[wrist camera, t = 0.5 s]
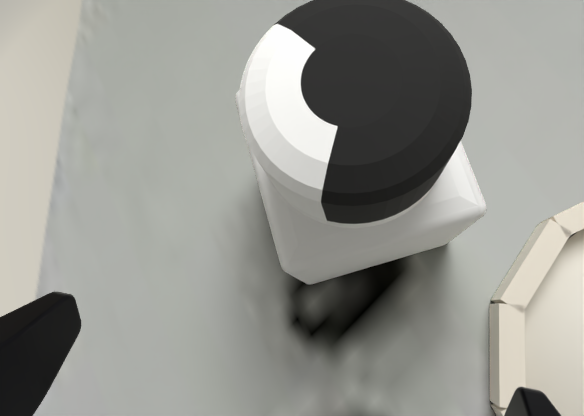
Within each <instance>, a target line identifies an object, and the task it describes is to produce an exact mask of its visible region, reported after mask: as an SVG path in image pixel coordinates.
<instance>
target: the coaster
mask: <svg viewBox="0 0 584 416" xmlns="http://www.w3.org/2000/svg"><path fill="white" fill-rule="evenodd" d="M572 234H573V235H572ZM570 235H572V236H570ZM569 236H570V237H569ZM491 301H493V302H494V303H496V304H489V327H490V401H491V402H493V404H491V406H492V408H493V410H494V412H495V414H496V415H497V416H504V415H505V412H506V410H507V407H508V405H509V403H510V401H511V399H512V396H513V394H514V392H515V390H516V389H517V388H518V387H526V388H531V389H536V390H540V391H542V392H543V393H544V394H545V395H546V396H547V397H548V399H549V400H550V401H551V403H552V404H553V405H554V406H555V408H556V409H557V410H558V412H559V413H560V414H561V416H584V202H582V203H580V204H578V205H575V206H573V207H571V208H569V209H567V210H565V211H563V212H561V213H559V214H557V215H555V216H553V217H551V218H549V219H547V220H545V221H543V222H541V224H539V225H537V226H536V228H535V230H534V231H533V233H532V235H531V236H530V238H529V239H528V241H527V243H526V244H525V246H524V247H523V249H522V251H521V252H520V254H519V255H518V257H517V259H516V260H515V262H514V263H513V265H512V267H511V268H510V270H509V271H508V273H507V275H506V276H505V278H504V279H503V281H502V283H501V284H500V286H499V287H498V289H497V291H496V292H495V294H494V295H493V297H492V299H491Z"/></svg>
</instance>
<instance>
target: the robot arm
mask: <svg viewBox="0 0 584 416" xmlns="http://www.w3.org/2000/svg"><path fill="white" fill-rule="evenodd" d="M80 329H81V319H80V315H79V311H78V308H77V304H76V300H75V298H74V297H73V296H72V295H71V294H67V293H62V292H52V293H49V294H47V295H45V296H43V297H41V298H39V299H37V300H35V301H33V302H31V303H29V304H27V305H24V306H22V307H20V308H18V309H16V310H14V311H12V312H10V313H8V314H6V315H4V316H2V317H0V416H33V414H34V413H35V411H36V410H37V408H38V407H39V405H40V404H41V402H42V400H43V399H44V397H45V395H46V394H47V392H48V390H49V389H50V387H51V385H52V383H53V381H54V379H55V377H56V376H57V374H58V372H59V370H60V368H61V366H62V364H63V362H64V361H65V359H66V357H67V355H68V353H69V351H70V349H71V347H72V346H73V344H74V342H75V340H76V338H77V336H78V334H79V332H80ZM504 416H561V414H560V413H559V412H558V410H557V409H556V408H555V406H554V405H553V404H552V403H551V401H550V400H549V399H548V397H547V396H546V395H545V394H544V393H543V392H542V391H540V390H536V389H531V388H526V387H518V388H517V389H516V390H515V392H514V394H513V396H512V399H511V401H510V403H509V405H508V407H507V410H506V412H505V415H504Z"/></svg>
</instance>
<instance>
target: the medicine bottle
mask: <svg viewBox="0 0 584 416" xmlns="http://www.w3.org/2000/svg"><path fill="white" fill-rule="evenodd" d="M471 97H472V89H471V80H470V74H469V70H468V67H467V64H466V60H465V58H464V56H463V54H462V52H461V49H460V47H459V46H458V44H457V43H456V41H455V40H454V38H453V37H452V35H451V34H450V33H449V32H448V30H447V29H446V28H445V27H444V26H443V25H442V24H441V23H440V22H439V21H438V20H437V19H435V18H434V17H433V16H432V15H431V14H429V13H428V12H426V11H425V10H423V9H421V8H420V7H418V6H417V5H414V4H412V3H410V2H408V1H405V0H313V1H310V2H308V3H306V4H304V5H302V6H300V7H298V8H296V9H295V10H293V11H291V12H290V13H288V14H287V15H285V16H284V17H283V18H282V19H280V20H279V21H278V22H277V23H276V24H274V25H273V26H272V27H271V28H270V29H269V30H268V32H267V33H266V34H265V35H264V36H263V37H262V39H261V40H260V41H259V43H258V44H257V46H256V47H255V48H254V50H253V52H252V54H251V56H250V58H249V60H248V62H247V64H246V67H245V70H244V73H243V76H242V81H241V85H240V90H239V91H238V92H237V94H236V105H237V109H238V113H239V116H240V120H241V125H242V129H243V133H244V135H245V138H246V142H247V145H248V149H249V153H250V156H251V160H252V164H253V167H254V171H255V174H256V178H257V182H258V185H259V189H260V193H261V196H262V200H263V203H264V207H265V211H266V214H267V218H268V222H269V225H270V229H271V233H272V236H273V240H274V243H275V247H276V251H277V254H278V258H279V262H280V265H281V267H282V269H283V271H284V272H286V273H288V274H290V275H292V276H293V277H295V278H297V279H299V280H301V281H302V282H304V283H306V284H315V283H318V282H322V281H325V280H328V279H332V278H335V277H339V276H342V275H345V274H349V273H352V272H355V271H359V270H362V269H366V268H369V267H372V266H376V265H379V264H382V263H386V262H389V261H393V260H396V259H399V258H403V257H406V256H409V255H413V254H416V253H420V252H423V251H426V250H430V249H433V248H436V247H440V246H443V245H446V244H447V243H449V242H450V241H451V240H453V239H454V238H455V237H457V236H458V235H459V234H460V233H462V232H463V231H464V230H466V229H467V228H468V227H470V226H471V225H472V224H473V223H475V222H476V221H477V220H479V219H480V218H481V217H483V216H484V214H485V212H486V203H485V200H484V198H483V195H482V193H481V190H480V188H479V185H478V183H477V180H476V178H475V175H474V173H473V170H472V168H471V165H470V163H469V160H468V158H467V155H466V153H465V150H464V148H463V145H462V143H461V139H462V137H463V135H464V132H465V129H466V126H467V123H468V120H469V115H470V110H471Z"/></svg>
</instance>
